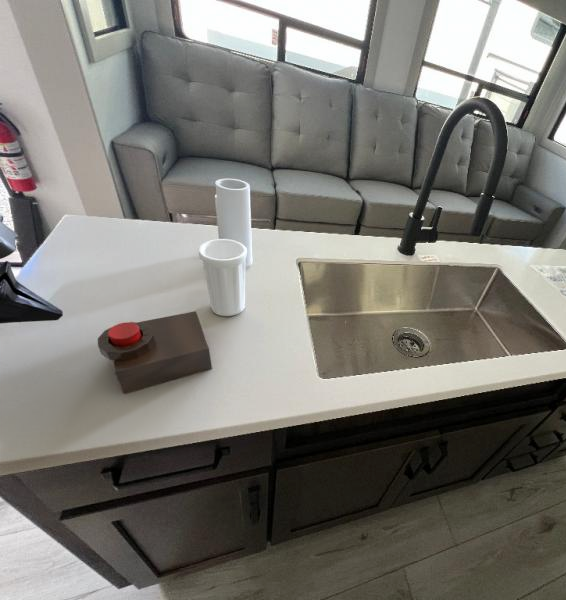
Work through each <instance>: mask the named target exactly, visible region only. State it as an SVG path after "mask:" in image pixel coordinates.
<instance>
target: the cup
mask: <svg viewBox="0 0 566 600" xmlns="http://www.w3.org/2000/svg"><path fill="white" fill-rule="evenodd" d="M198 256H199V258H200V260H201V261H202V266H203V270H204V271H203V272H204V275H205V281H206V286H207V290H208V296H209V301H210V306H211V310H212V311H213V313H214V314H215V315H219V316H222V317H230V316H231V317H232V316H235V315H239V314H240V313H241V312H243V311H244V310H245V308H246V268H245V259H246V257H247V250H246V247H245V246H244V245H243V244H241V243H239V242H237V241H234V240H229V239H219V238H215V239H211V240H207V241H205V242H203V243H201V245H200V246H199V247H198Z"/></svg>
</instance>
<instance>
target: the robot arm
mask: <svg viewBox="0 0 566 600" xmlns="http://www.w3.org/2000/svg"><path fill="white" fill-rule="evenodd" d="M3 221H4V216H3V215H2V214H1V213H0V260H2V259H5V258H6V257H9V256H10V255H12V254H13V253H14V252H15V251H16V249H17V245H16V239H19V234H18V233H17V232H16V231H14V230H13V229H12V228H10V227H9V226H8V225H6V224H5V223H4V222H3ZM63 315H64V312H63V310H62V309H60V308H59V307H57V306H56V305H54V304H53V303H51V302H49V301H48V300H46V299H44V298H43V297H41V296H40V295H38V294H37V293H35V292H33V291H32V290H30V289H29V288H27V286H24V285H23V284H21V283H20V282H19V281H18V280H17V279H16V276H15V274H14V272H13V270H12V264H11V262H10V261H9V260H6V261H4V262H3V263H2V264H1V265H0V324H11V323H31V322H49V321H50V322H51V321H58V320H60V319H61V318H62V317H63Z"/></svg>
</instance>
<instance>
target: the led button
mask: <svg viewBox="0 0 566 600" xmlns="http://www.w3.org/2000/svg"><path fill="white" fill-rule="evenodd" d="M131 322H132V321H129V322H127V321H126V322H121V323H117V324H115V325H113V326H111V327H112V328H111V329H110V330H109V332H108V335H109V337H110V340H111V342H112V344H113V345H115V346H118V347H124V346H129V345H132V344H134V343H136V342H138V341H139V340H140V339H141V333H140V330H139V327H138V325H137V324H135V323H131Z"/></svg>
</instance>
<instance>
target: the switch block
mask: <svg viewBox="0 0 566 600" xmlns="http://www.w3.org/2000/svg"><path fill="white" fill-rule="evenodd" d="M130 322H131V323H135V324H137V325H138V327H139V330H140V333H141V339H140V340H139V341H138V342H136V343H134V344H132V345H129V346H124V347H118V346H115V345H113V344H112V342H111V340H110V337H109V335H108V332H109V330H110V329H111V328H112V327H113V326H111V327H109V328H107V329H105V330H104V331H103V332H102V333H101V334H100V335H99V336H98V338H97V347H98V349H99V352H100V354H101V356H103V357H105V358H106V359H108V360H110V361H113V368H114V373H115V376H116V378H117V380H118V383H119V386H120V388H121V390H122V392H123V394H124V395H125V394H129V393H132V392H136V391H139V390H144V389H146V388H151V387H155V386H157V385H160V384H161V385H162V384H164V383H167V382H170V381H174V380H179V379H182V378H185V377H188V376H191V375H196V374H199V373H202V372H205V371H209V370H213V366H212V365H213V364H212V359H211V353H210V347H209V344H208V341H207V339H206V336H205V332H204V330H203V328H202V327H203V326H202V325H201V322H200V319H199V315H198V313H197V311H190V312H189V311H188V312H184V313H179V314H174V315H167V316H164V317H158V318H153V319H147V320H142V321H138V322H135V321H130Z"/></svg>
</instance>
